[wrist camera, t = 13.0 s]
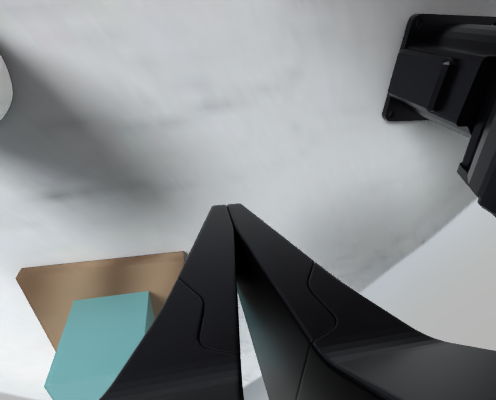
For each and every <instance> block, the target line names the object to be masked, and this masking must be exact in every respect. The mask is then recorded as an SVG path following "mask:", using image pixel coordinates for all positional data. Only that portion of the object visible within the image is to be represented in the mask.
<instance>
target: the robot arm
mask: <svg viewBox="0 0 496 400" xmlns="http://www.w3.org/2000/svg"><path fill="white" fill-rule="evenodd" d="M417 20H418V21H419V22H418V25H417V26H416V27H415V23H416V21H417ZM492 24H493V26H492ZM391 111H392V113H391V115H390V116H389V113H390V112H391ZM382 116H383V118H384V119H385V120H387V121H413V120H432V121H434V122H436V123H438V124H440V125H443V126H445V127H447V128H449V129H451V130H453V131H456V132H458V133H460V134H462V135H464V136H466V137H469V138H470V141H469V144H468V147H467V150H466V153H465V155H464V158H463V161H462V163H460V164H459V167H458V170H457V173H458V174H459V175H460V176H461V178H462V179H463V180H464V181H465V182H466V184H467V185H468V186H469V187H470V188H471V190H472V191H473V192H474V193H475V195H476V196H477V197H478V203H479V205H480V206H482V208H484V209H486V210H487V211H488V212H490V213H492V214H493V215H494V216H495V217H496V17H484V16H461V15H437V14H414V15H413V16H411V17H410V19H409V20H408V23H407V26H406V30H405V33H404V37H403V41H402V44H401V48H400V51H399V53H398V57H397V60H396V64H395V67H394V71H393V75H392V78H391V82H390V85H389V89H388V94H387V98H386V102H385V105H384V109H383V112H382ZM237 291H238V294H239V298H240V301H241V305H242V308H243V312H244V315H245V318H246V322H247V325H248V329H249V332H250V336H251V339H252V342H253V346H254V349H255V353H256V356H257V360H258V363H259V366H260V370H261V373H262V377H263V380H264V383H265V387H266V390H267V394H268V397H269V400H496V351H493V350H487V349H481V348H476V347H471V346H464V345H459V344H453V343H449V342H444V341H441V340H438V339H434V338H432V337H429V336H427V335H425V334H423V333H421V332H419V331H417V330H415V329H413V328H412V327H410V326H409V325H407V324H405V323H404V322H402V321H401V320H399V319H398V318H396V317H394V316H393V315H391V314H390V313H388V312H387V311H385V310H384V309H382V308H380V307H379V306H377V305H376V304H374V303H373V302H371V301H369V300H368V299H366V298H365V297H363V296H362V295H360V294H359V293H357V292H356V291H354V290H353V289H351V288H350V287H348V286H347V285H345V284H344V283H342V282H341V281H340V280H338V279H337V278H336V277H334V276H333V275H332V274H330V273H329V272H328V271H326V270H325V269H324V268H322V267H321V266H320V265H319V264H317V263H314V261H313V260H312V259H311V258H309V257H308V256H307V255H306V254H304V253H303V252H302V251H300V250H299V249H298V248H297V247H295V246H294V245H293V244H292V243H290V242H289V241H288V240H286V239H285V238H284V237H283V236H281V235H280V234H279V233H278V232H276V231H275V230H274V229H272V228H271V227H270V226H269V225H267V224H266V223H265V222H263V221H262V220H261V219H260V218H258V217H257V216H256V215H255V214H253V213H252V212H251V211H249V210H248V209H247V208H246V207H244V206H243V205H242V204H229V205H227V206H226V205H215V206H212V208H211V210H210V212H209V214H208V216H207V218H206V220H205V222H204V224H203V226H202V228H201V230H200V232H199V234H198V237H197V239H196V241H195V243H194V245H193V247H192V249H191V251H190V253H189V255H188V257H187V259H186V261H185V263H184V265H183V268H182V270H181V272H180V274H179V276H178V278H177V280H176V282H175V284H174V286H173V288H172V290H171V292H170V294H169V296H168V298H167V299H166V301H165V303H164V305H163V307H162V309H161V310H160V312H159V313H158V315H157V317H156V318H155V320H154V321H153V323H152V325H151V326H150V328H149V329H148V331H147V332H146V334H145V335H144V337H143V338H142V340H141V341H140V343H139V344H138V346H137V347H136V349H135V350H134V352H133V353H132V355H131V356H130V358H129V359H128V361H127V362H126V364H125V365H124V367H123V368H122V370H121V371H120V373H119V374H118V376H117V377H116V378H115V380H114V381H113V383H112V384H111V386H110V387H109V388H108V389H107V391H106V392H105V393H104V394H103V395H102V397H101V398H100V399H99V400H244V396H243V387H242V374H241V359H240V337H239V317H238V297H237Z"/></svg>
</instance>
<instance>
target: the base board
mask: <svg viewBox="0 0 496 400" xmlns="http://www.w3.org/2000/svg"><path fill="white" fill-rule="evenodd" d="M184 263H185V262H184V253H183V251H182V252H173V253H163V254H154V255H144V256H135V257H125V258H116V259H106V260H97V261H87V262H78V263H68V264H59V265H49V266H40V267H30V268H21V270H20V272H19V273H18V275H17V277H16V280H17V282H18V284H19V285H20V287H21V289H22V291H23V293H24V295H25V296H26V298H27V300H28V302H29V304H30V306H31V307H32V309H33V311H34V313H35V315H36V316H37V318H38V320H39V322H40V324H41V326H42V327H43V329H44V331H45V333H46V335H47V337H48V338H49V340H50V342H51V344H52V346H53V348H54V349H55V351H57V348H58V345H59V342H60V339H61V336H62V333H63V330H64V328H65V325H66V322H67V319H68V316H69V313H70V310H71V307H72V304H73V302H74V301H75V300H83V299H90V298H98V297H106V296H114V295H121V294H129V293H137V292H145V291H149V294H150V298H151V303H152V307H153V312H154V317H155V318H156V317H157V315H158V313H159V312H160V310H161V309H162V307H163V305H164V303H165V301H166V299H167V298H168V296H169V294H170V292H171V290H172V288H173V286H174V284H175V282H176V280H177V278H178V276H179V274H180V272H181V270H182V268H183V265H184Z"/></svg>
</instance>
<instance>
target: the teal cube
mask: <svg viewBox="0 0 496 400" xmlns="http://www.w3.org/2000/svg"><path fill="white" fill-rule="evenodd" d="M154 320H155V317H154V312H153V307H152V303H151V298H150V294H149V291H145V292H137V293H129V294H121V295H114V296H106V297H98V298H90V299H83V300H75V301H74V302H73V304H72V307H71V310H70V313H69V316H68V319H67V322H66V325H65V328H64V330H63V333H62V336H61V339H60V342H59V345H58V348H57V351H56V354H55V356H54V359H53V362H52V365H51V368H50V371H49V374H48V377H47V380H46V383H45V385H44V387H45V389H46V390H47V392H48V393H49V395H50V396H51V398H52V399H53V400H99V399H100V398H101V397H102V395H103V394H104V393H105V392H106V391H107V389H108V388H109V387H110V386H111V384H112V383H113V381H114V380H115V378H116V377H117V376H118V374H119V373H120V371H121V370H122V368H123V367H124V365H125V364H126V362H127V361H128V359H129V358H130V356H131V355H132V353H133V352H134V350H135V349H136V347H137V346H138V344H139V343H140V341H141V340H142V338H143V337H144V335H145V334H146V332H147V331H148V329H149V328H150V326H151V325H152V323H153V321H154Z"/></svg>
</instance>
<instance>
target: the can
mask: <svg viewBox="0 0 496 400" xmlns="http://www.w3.org/2000/svg"><path fill="white" fill-rule="evenodd" d="M12 97H13V89H12V83H11V79H10V75H9V73H8V70H7V67H6V65H5V63H4V61H3V59H2V57H1V55H0V120H1V119H2V118H3V117H4V116H5V114H6V113H7V111H8V109H9V107H10V105H11V102H12Z"/></svg>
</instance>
